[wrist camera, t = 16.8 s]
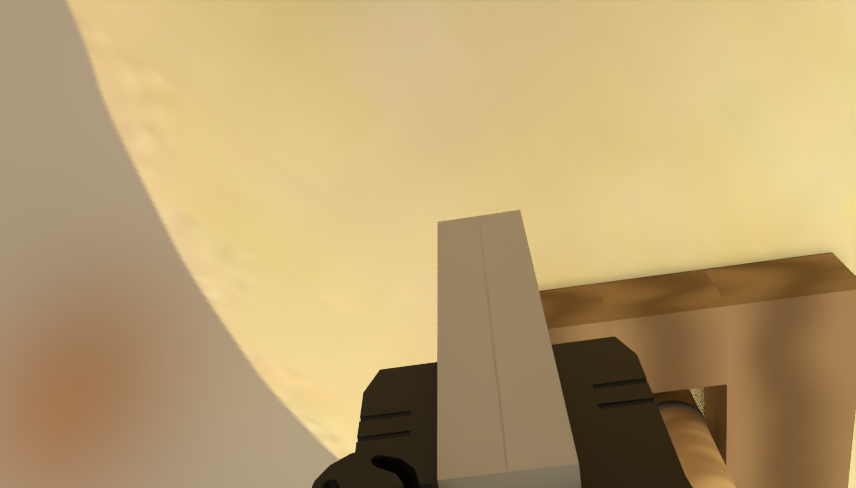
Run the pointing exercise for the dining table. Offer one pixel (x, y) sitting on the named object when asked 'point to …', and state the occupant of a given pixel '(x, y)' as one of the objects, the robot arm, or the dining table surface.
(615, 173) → the dining table surface
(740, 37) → the dining table surface
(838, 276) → the board
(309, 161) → the dining table surface
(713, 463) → the dowel
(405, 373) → the robot arm
